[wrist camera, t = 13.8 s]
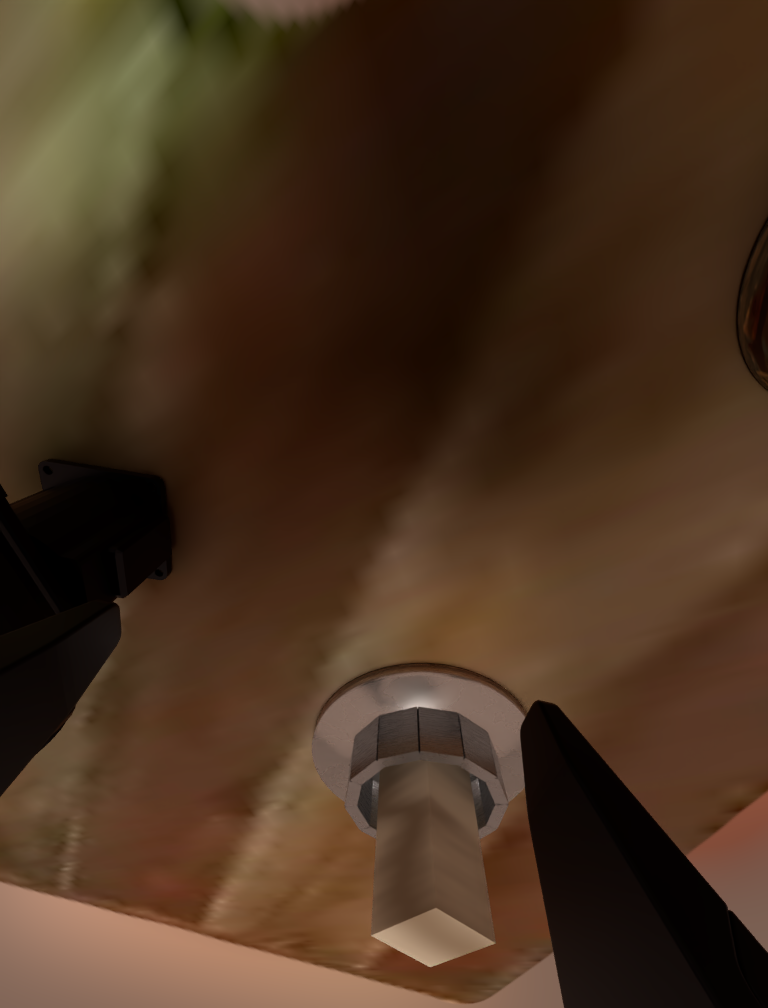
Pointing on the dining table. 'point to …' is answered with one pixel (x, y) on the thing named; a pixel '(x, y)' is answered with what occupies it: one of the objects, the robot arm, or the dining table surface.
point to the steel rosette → (420, 736)
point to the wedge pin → (429, 864)
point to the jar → (755, 311)
